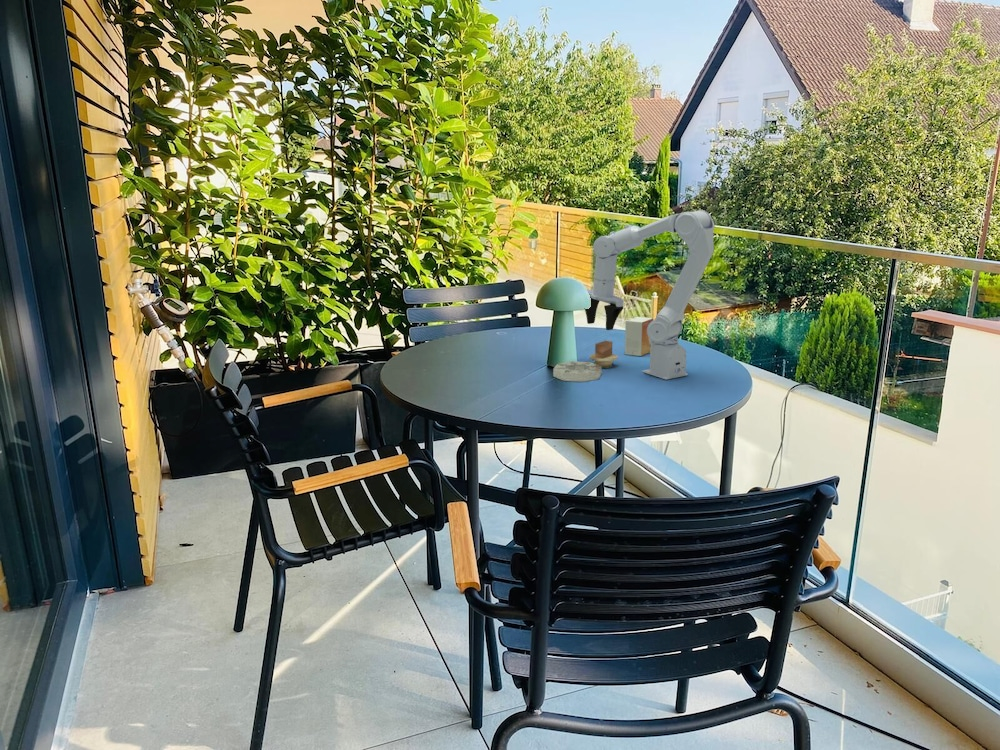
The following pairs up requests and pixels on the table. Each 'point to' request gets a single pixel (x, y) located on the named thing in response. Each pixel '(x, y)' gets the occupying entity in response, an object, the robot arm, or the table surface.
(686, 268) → the robot arm
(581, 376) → the flat stone slab
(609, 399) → the table surface
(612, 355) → the cap
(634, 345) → the small box
